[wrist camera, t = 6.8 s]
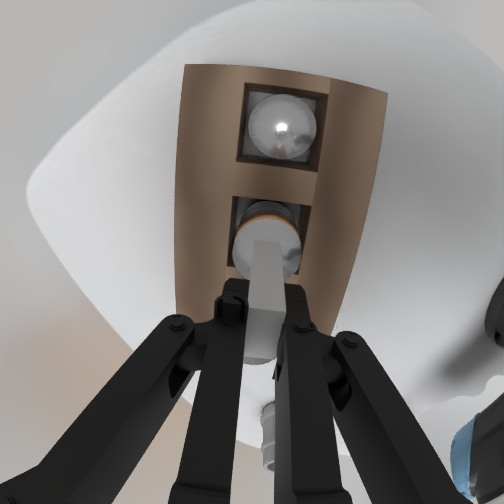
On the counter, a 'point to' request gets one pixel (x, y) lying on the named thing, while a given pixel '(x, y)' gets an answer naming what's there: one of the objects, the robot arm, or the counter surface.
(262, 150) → the knob
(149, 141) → the counter surface
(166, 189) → the counter surface
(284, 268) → the knob
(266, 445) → the mug
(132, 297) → the counter surface
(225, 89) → the wooden candle holder
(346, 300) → the counter surface
